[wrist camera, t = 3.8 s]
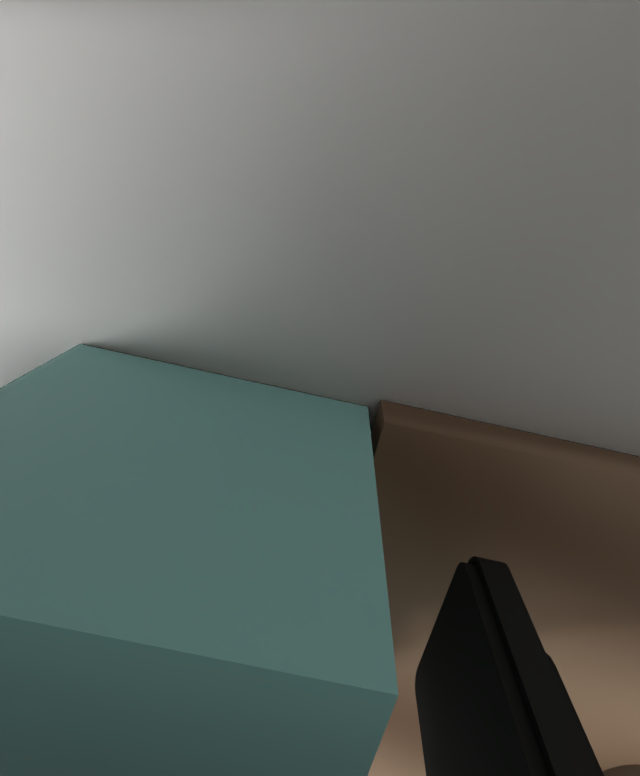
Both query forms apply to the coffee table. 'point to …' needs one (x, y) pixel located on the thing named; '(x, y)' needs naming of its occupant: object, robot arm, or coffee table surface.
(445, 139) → the coffee table surface
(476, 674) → the robot arm
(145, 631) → the teal cube
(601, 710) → the plate
